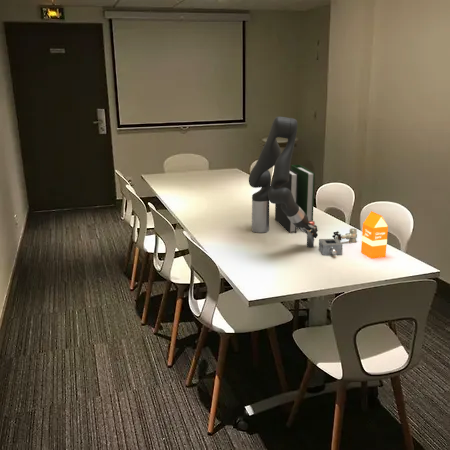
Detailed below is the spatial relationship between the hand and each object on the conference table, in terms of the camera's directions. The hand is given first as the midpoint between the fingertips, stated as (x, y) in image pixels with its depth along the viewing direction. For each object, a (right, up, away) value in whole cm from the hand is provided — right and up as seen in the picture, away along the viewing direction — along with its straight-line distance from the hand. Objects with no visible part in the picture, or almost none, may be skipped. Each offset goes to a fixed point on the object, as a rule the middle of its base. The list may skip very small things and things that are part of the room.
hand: (313, 235), depth 238 cm
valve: (+17, -4, +5) cm, 19 cm away
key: (-1, -5, 0) cm, 6 cm away
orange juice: (+26, -9, -12) cm, 30 cm away
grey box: (+7, -8, -9) cm, 14 cm away
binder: (-5, +5, +35) cm, 35 cm away
